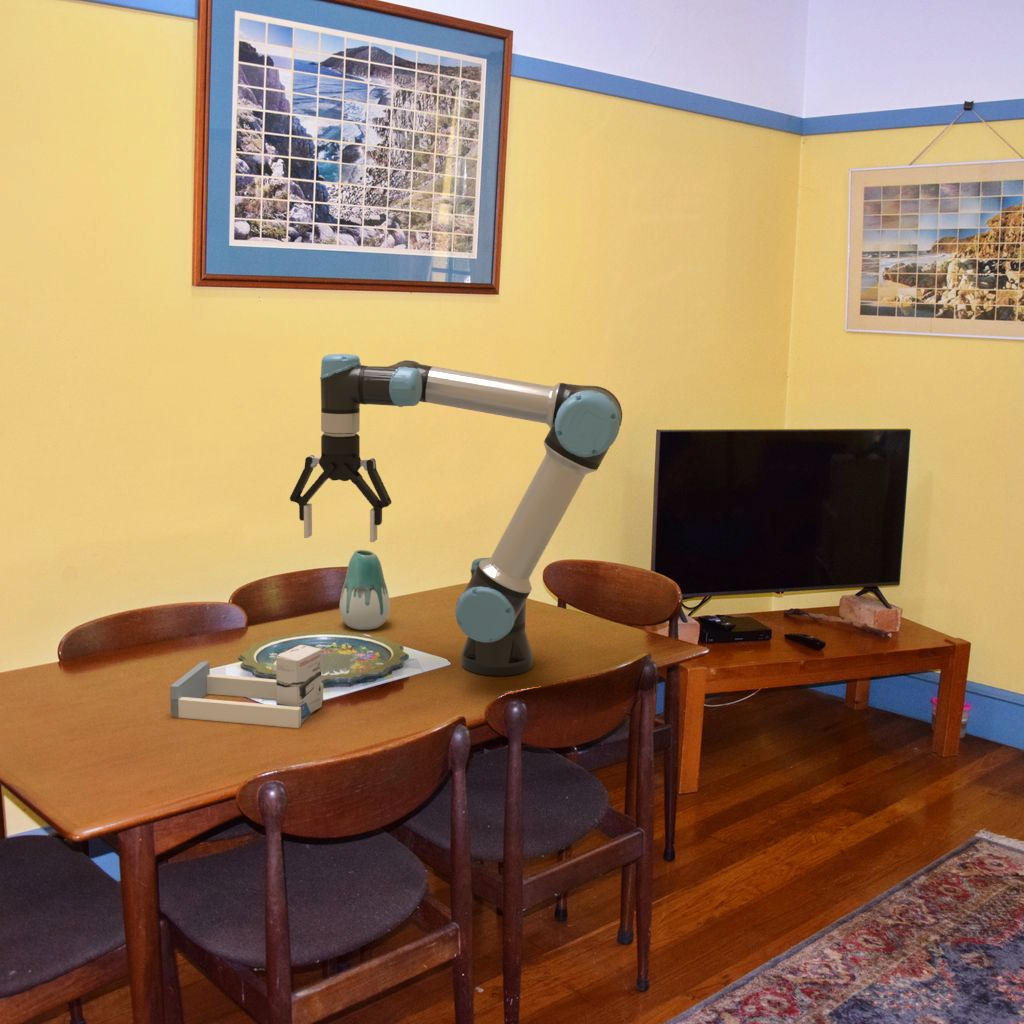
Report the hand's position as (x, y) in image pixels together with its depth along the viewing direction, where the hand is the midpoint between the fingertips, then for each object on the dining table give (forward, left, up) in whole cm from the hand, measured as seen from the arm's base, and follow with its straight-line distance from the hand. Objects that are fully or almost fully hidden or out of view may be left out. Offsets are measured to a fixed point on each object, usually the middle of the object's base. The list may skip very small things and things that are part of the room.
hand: (340, 538), depth 242 cm
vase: (+5, -34, -29) cm, 45 cm away
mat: (+2, +22, -29) cm, 36 cm away
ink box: (+1, +22, -29) cm, 36 cm away
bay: (+11, +22, -29) cm, 38 cm away
